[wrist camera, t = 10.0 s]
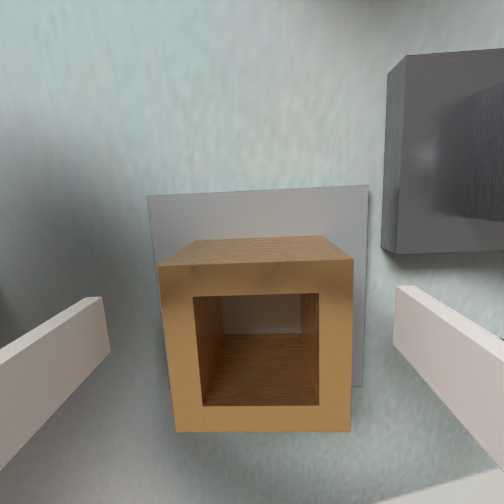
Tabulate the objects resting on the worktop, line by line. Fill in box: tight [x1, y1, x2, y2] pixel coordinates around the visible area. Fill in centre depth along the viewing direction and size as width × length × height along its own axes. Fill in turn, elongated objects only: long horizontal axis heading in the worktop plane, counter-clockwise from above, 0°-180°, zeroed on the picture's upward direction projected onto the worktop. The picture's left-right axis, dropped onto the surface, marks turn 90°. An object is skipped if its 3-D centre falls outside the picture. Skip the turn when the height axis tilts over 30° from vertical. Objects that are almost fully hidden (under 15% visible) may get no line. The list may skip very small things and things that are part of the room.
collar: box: [157, 235, 354, 432], centre depth 14 cm, size 7×7×6 cm
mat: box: [147, 185, 368, 389], centre depth 17 cm, size 12×12×1 cm
